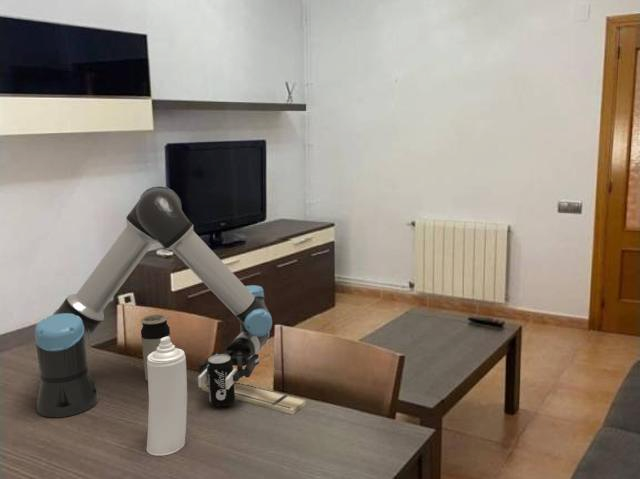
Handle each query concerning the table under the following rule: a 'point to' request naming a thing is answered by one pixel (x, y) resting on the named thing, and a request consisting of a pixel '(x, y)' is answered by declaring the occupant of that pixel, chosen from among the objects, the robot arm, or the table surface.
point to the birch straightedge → (265, 398)
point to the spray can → (166, 399)
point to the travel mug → (153, 335)
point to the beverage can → (219, 380)
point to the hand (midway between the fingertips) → (213, 383)
